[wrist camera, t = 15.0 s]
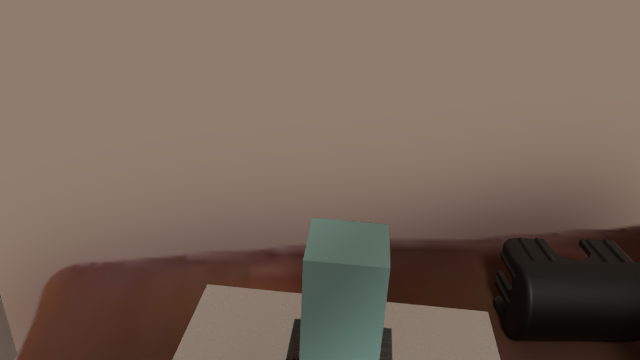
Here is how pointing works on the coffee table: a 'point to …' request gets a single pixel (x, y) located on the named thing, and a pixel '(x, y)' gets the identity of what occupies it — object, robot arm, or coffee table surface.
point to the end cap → (568, 292)
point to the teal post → (344, 290)
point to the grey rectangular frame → (285, 322)
